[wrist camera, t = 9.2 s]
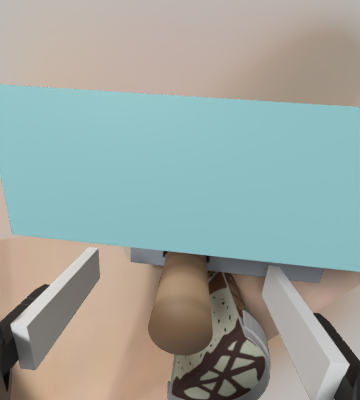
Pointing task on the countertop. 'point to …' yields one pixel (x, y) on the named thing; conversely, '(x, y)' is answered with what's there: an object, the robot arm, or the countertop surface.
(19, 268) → the countertop surface
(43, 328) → the robot arm
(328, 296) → the countertop surface
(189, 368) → the food container
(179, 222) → the socket
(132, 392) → the countertop surface
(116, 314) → the countertop surface
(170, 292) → the peg
